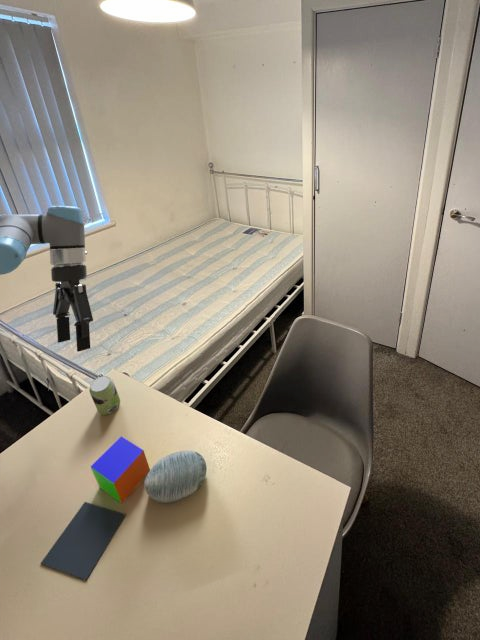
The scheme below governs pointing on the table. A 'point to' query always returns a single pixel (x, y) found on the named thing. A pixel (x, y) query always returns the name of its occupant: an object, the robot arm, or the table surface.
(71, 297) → the robot arm
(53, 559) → the pad
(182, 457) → the grey yarn skein
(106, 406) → the beverage can
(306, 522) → the table surface
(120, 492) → the cube
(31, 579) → the table surface
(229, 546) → the table surface
